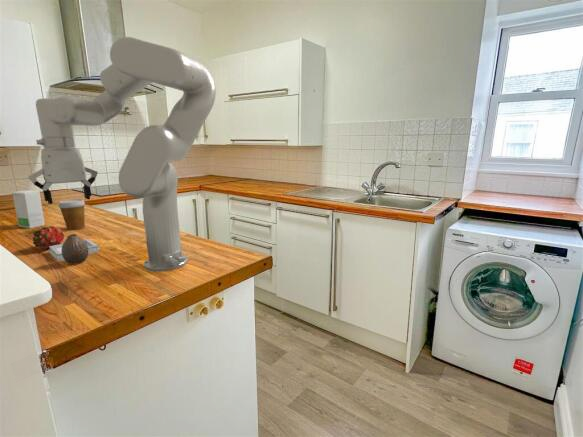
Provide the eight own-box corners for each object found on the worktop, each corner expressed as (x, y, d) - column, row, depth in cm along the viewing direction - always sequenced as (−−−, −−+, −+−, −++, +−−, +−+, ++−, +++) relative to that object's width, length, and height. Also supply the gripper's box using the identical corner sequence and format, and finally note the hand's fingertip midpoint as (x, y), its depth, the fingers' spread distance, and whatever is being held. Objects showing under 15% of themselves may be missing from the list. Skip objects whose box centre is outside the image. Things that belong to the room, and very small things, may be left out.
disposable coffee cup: (86, 224, 146) (81, 198, 143) (91, 228, 139) (87, 201, 136) (60, 228, 139) (55, 201, 136) (65, 232, 132) (60, 204, 130)
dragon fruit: (39, 258, 108) (58, 251, 120) (60, 242, 109) (77, 237, 121) (20, 239, 107) (41, 234, 118) (41, 223, 107) (60, 219, 119)
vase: (85, 256, 105) (80, 230, 103) (93, 261, 101) (89, 234, 99) (60, 262, 100) (55, 235, 98) (68, 267, 96) (62, 240, 94)
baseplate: (99, 251, 110) (98, 245, 109) (57, 261, 101) (56, 254, 101) (89, 244, 118) (88, 238, 117) (49, 252, 109) (48, 246, 109)
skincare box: (18, 226, 142) (10, 192, 138) (34, 223, 148) (27, 189, 144) (30, 228, 139) (23, 193, 136) (46, 224, 145) (39, 190, 142)
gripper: (23, 144, 85) (36, 207, 90) (96, 143, 97) (104, 198, 101) (19, 144, 90) (32, 203, 95) (89, 143, 102) (97, 195, 107)
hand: (69, 201), depth 98 cm, fingers open, 9 cm apart
